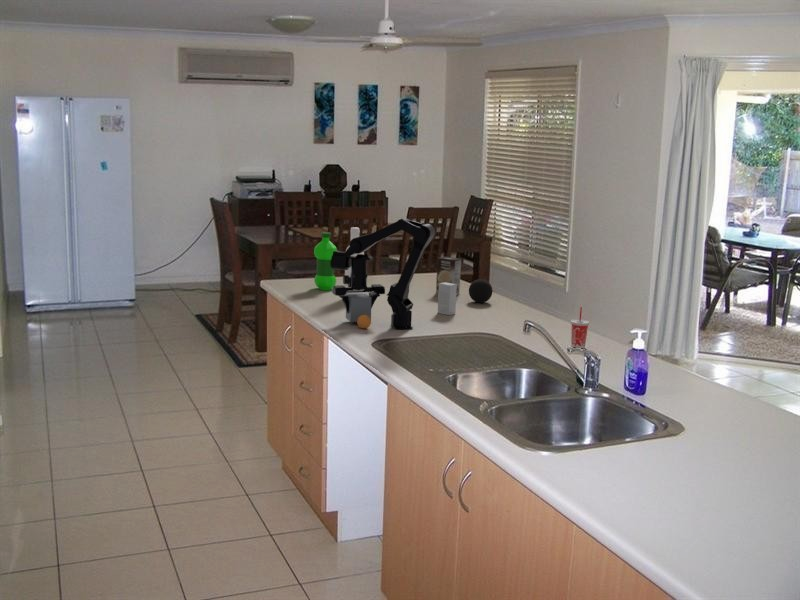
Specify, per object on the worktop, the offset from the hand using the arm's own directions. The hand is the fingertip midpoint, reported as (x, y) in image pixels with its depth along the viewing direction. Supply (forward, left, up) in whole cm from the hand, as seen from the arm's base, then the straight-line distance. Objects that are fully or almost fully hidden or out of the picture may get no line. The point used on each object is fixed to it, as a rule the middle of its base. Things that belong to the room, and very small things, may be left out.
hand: (358, 312), depth 315 cm
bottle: (-10, -44, -4) cm, 46 cm away
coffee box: (-54, -48, -4) cm, 72 cm away
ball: (0, +9, -1) cm, 9 cm away
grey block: (0, 0, -3) cm, 2 cm away
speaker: (-61, -28, -4) cm, 67 cm away
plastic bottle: (-3, -67, -4) cm, 67 cm away
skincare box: (-39, -10, -4) cm, 40 cm away
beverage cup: (-65, +48, -4) cm, 81 cm away
